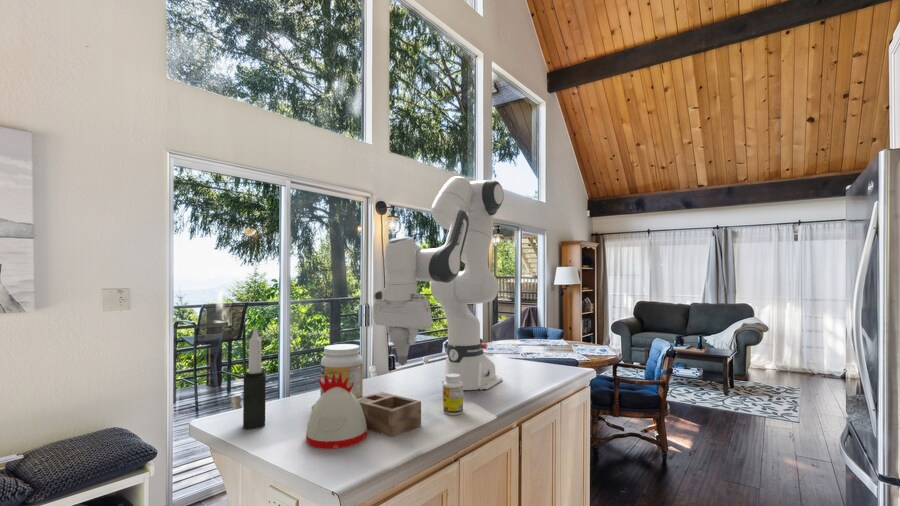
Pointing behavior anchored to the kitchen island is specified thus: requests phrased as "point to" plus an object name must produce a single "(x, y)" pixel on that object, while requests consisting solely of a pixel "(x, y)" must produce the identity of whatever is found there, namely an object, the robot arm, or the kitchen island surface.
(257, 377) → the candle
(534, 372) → the kitchen island surface
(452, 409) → the supplement bottle
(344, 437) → the kitchen timer
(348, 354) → the supplement tub
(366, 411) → the socket block
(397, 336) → the lightbulb
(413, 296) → the robot arm
